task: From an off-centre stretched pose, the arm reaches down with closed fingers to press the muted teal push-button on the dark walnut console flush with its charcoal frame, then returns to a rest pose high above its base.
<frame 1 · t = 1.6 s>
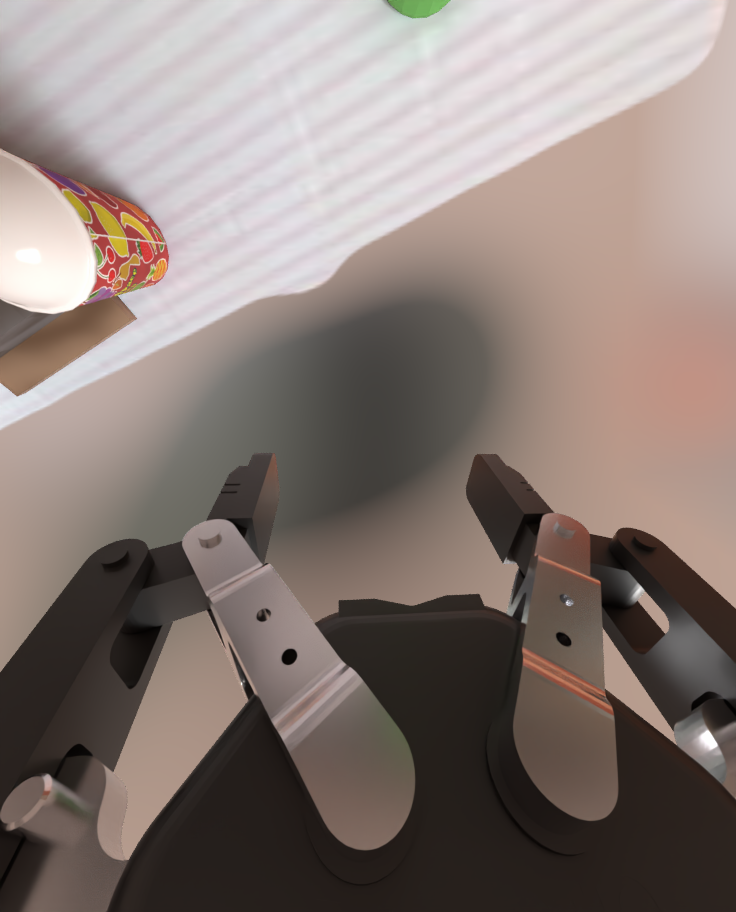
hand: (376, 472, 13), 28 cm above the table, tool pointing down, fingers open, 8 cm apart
smoothie: (137, 246, 30), on the table
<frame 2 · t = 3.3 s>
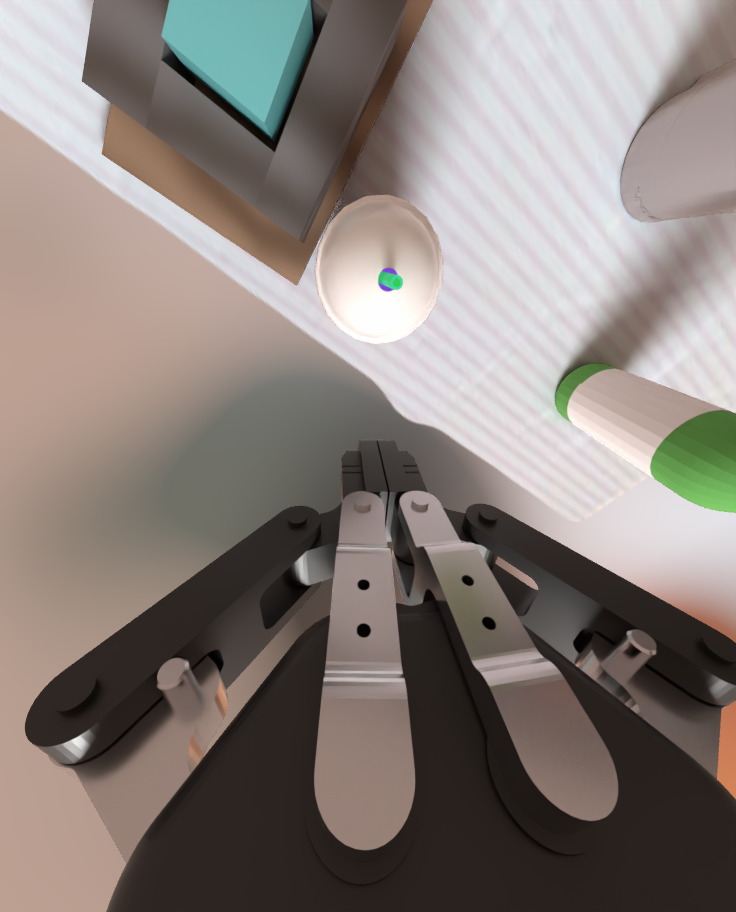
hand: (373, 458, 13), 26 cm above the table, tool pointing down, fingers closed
wine bottle: (579, 389, 42), on the table
button plunger: (243, 37, 19), point 6 cm above the table, slide at 0.0 cm
button console: (262, 84, 25), on the table
smoothie: (362, 271, 32), on the table
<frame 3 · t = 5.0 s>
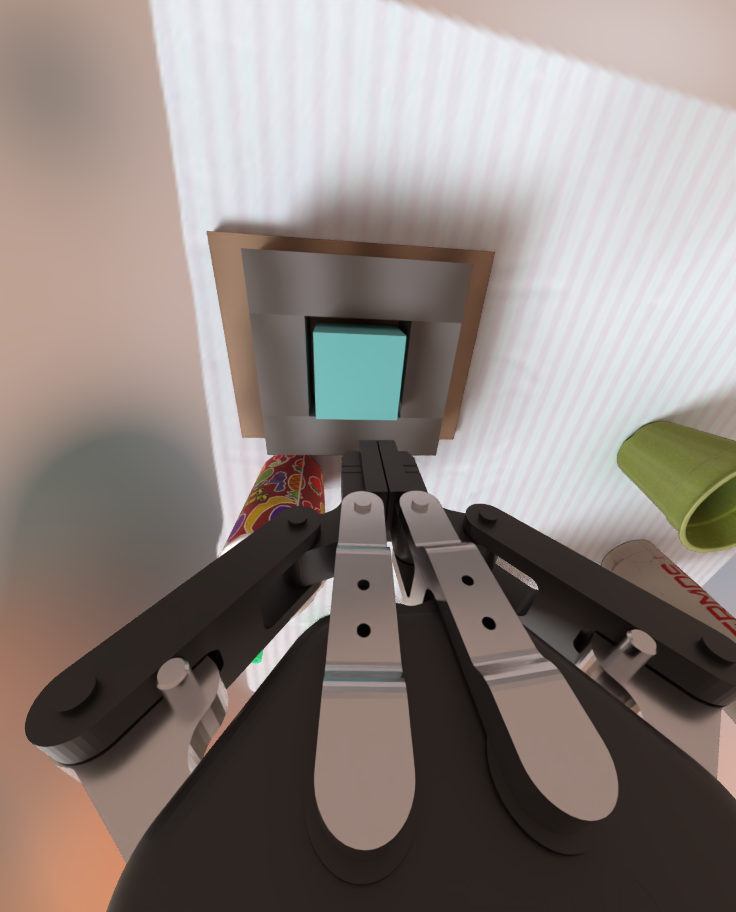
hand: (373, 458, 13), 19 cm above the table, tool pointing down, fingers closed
button plunger: (357, 371, 24), point 6 cm above the table, slide at 0.0 cm
thermos bottle: (625, 556, 50), on the table
button console: (353, 352, 29), on the table
smoothie: (294, 470, 36), on the table
plant pot: (644, 446, 38), on the table
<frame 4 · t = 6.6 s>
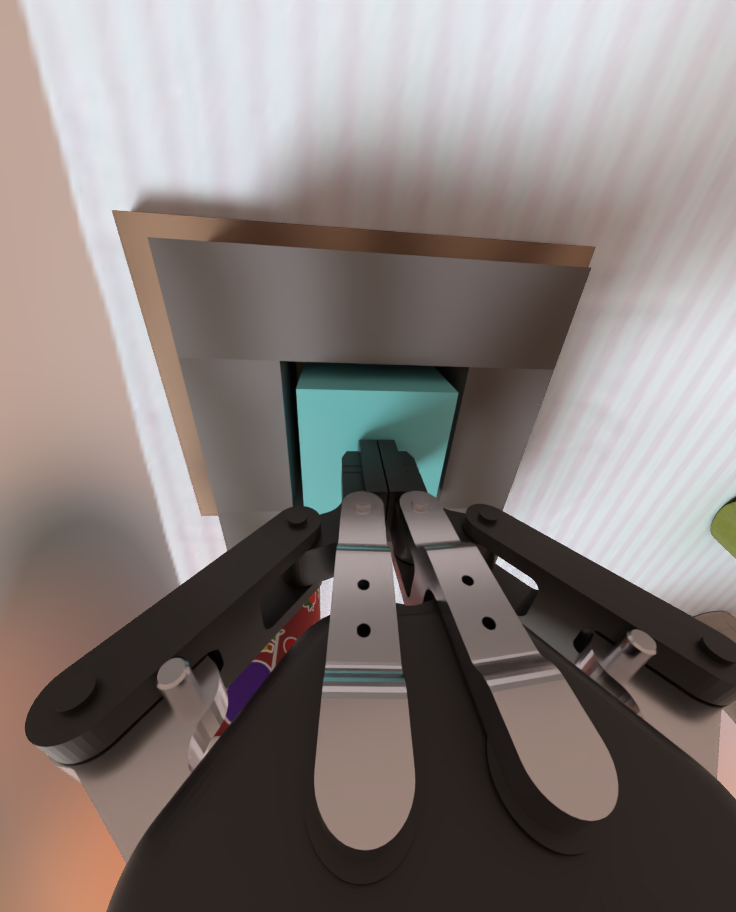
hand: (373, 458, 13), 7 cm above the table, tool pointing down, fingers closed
button plunger: (369, 438, 15), point 5 cm above the table, slide at 0.9 cm, touching gripper
thermos bottle: (695, 628, 40), on the table
button console: (362, 397, 20), on the table
smoothie: (279, 548, 26), on the table
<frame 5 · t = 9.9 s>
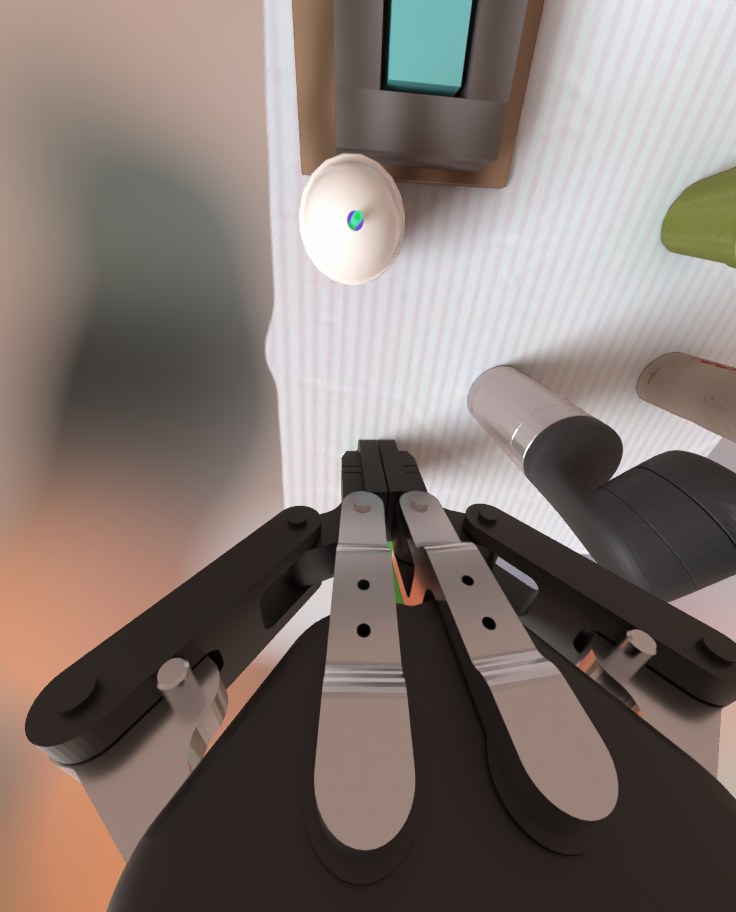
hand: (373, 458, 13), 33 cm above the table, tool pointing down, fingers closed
button plunger: (424, 39, 26), point 4 cm above the table, slide at 2.1 cm
thermos bottle: (660, 377, 50), on the table
button console: (413, 64, 30), on the table
smoothie: (346, 234, 37), on the table
plant pot: (688, 218, 39), on the table
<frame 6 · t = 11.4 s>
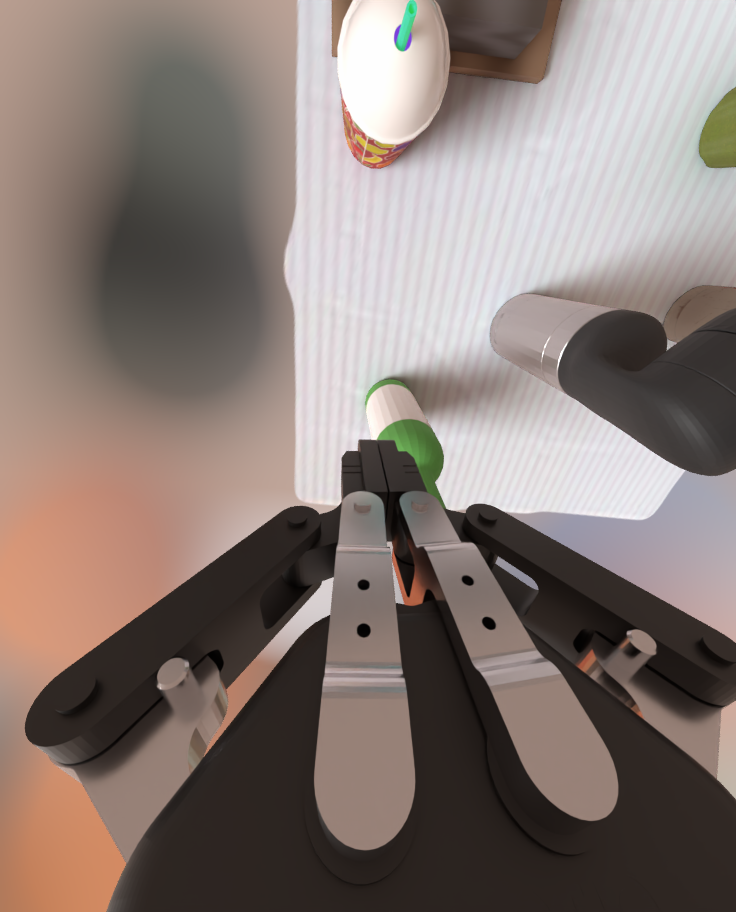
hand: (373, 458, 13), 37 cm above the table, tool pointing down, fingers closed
wine bottle: (387, 399, 52), on the table
thermos bottle: (688, 314, 49), on the table
smoothie: (374, 131, 35), on the table
plant pot: (728, 129, 37), on the table
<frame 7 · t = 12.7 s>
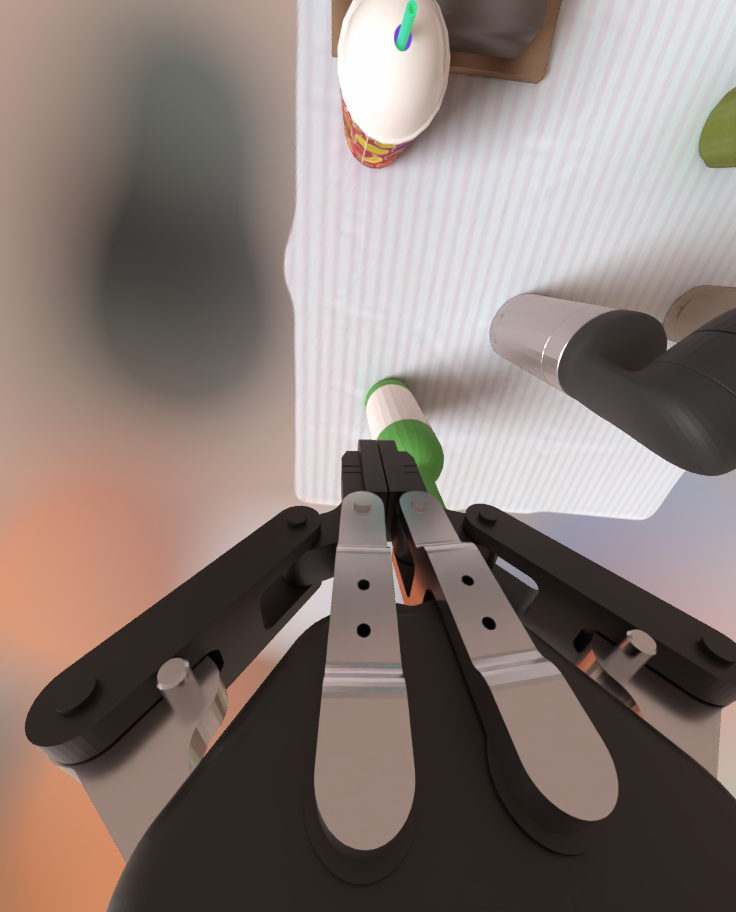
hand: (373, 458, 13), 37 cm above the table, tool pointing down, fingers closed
wine bottle: (387, 399, 52), on the table
thermos bottle: (688, 314, 49), on the table
smoothie: (374, 131, 35), on the table
plant pot: (728, 129, 37), on the table
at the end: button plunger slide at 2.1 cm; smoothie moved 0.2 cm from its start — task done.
